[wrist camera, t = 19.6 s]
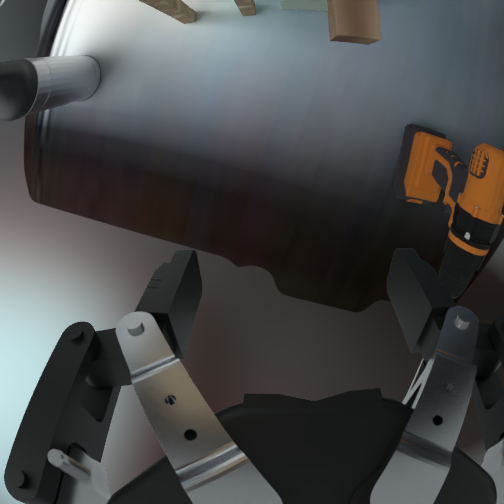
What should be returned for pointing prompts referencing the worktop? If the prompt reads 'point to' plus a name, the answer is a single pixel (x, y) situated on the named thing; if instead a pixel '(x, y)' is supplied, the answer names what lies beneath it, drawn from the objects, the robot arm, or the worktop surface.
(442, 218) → the worktop surface
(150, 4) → the stool
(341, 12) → the tan cardboard block
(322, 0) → the pale green block
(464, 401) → the robot arm
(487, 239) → the power drill
